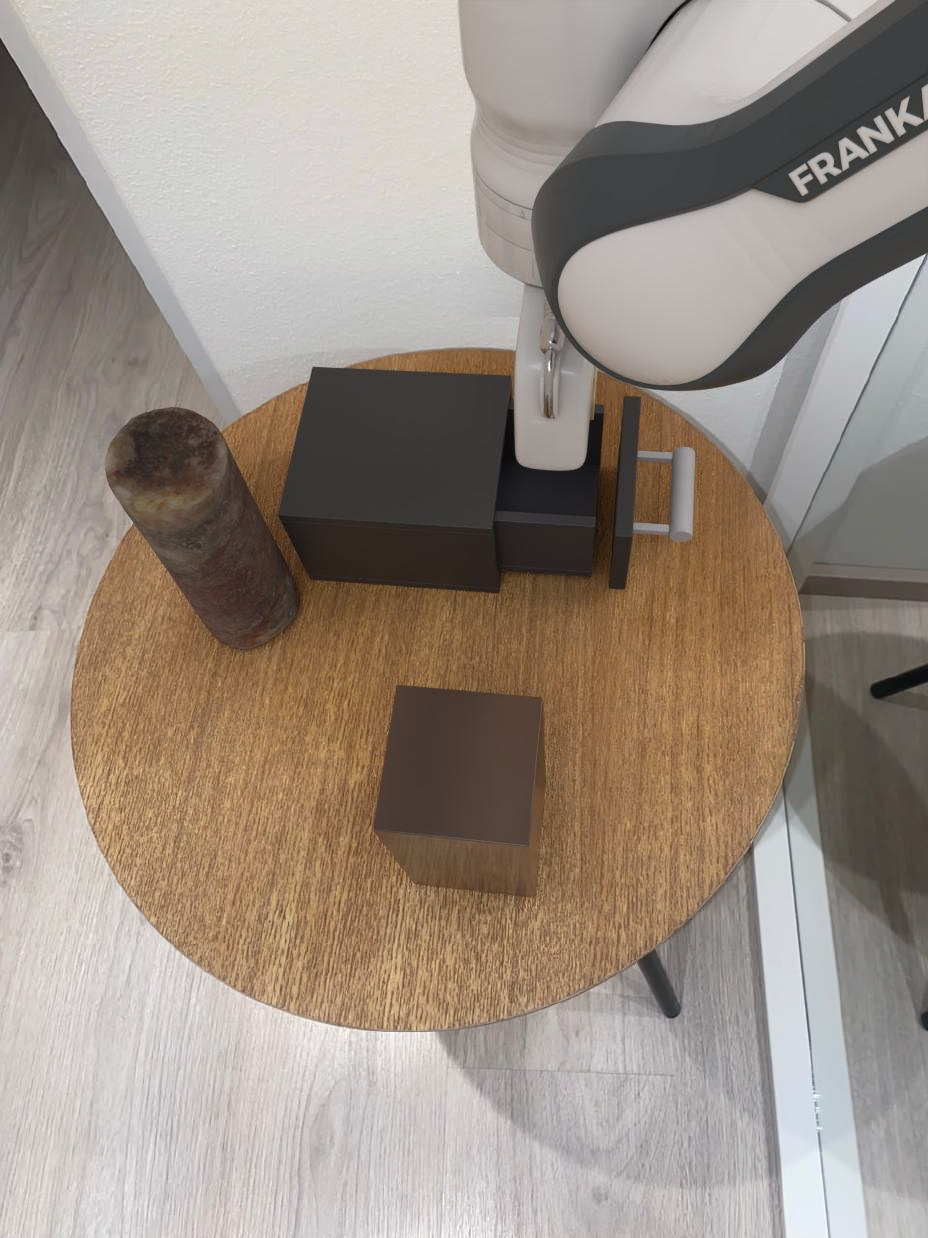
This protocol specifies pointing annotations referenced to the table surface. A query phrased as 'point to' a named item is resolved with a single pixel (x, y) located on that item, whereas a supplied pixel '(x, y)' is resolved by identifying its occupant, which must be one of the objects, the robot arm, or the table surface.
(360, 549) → the dark box sleeve
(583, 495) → the drawer
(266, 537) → the brown cylinder
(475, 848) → the stand
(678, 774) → the table surface
